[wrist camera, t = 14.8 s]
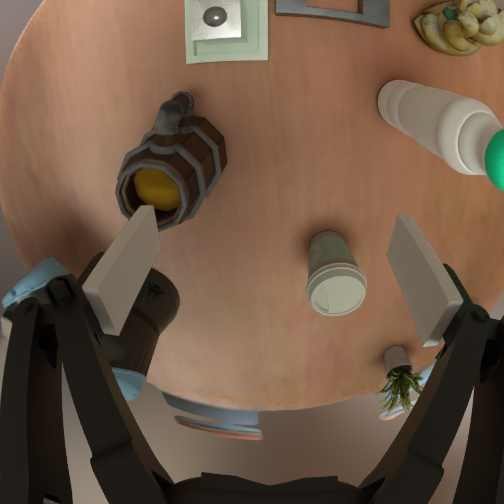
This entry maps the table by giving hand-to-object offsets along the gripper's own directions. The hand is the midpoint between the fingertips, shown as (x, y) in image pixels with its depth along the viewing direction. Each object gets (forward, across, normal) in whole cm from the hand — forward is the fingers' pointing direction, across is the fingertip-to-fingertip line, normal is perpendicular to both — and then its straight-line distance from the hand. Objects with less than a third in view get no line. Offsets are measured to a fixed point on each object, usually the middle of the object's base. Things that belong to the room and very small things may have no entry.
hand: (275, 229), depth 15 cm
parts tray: (+27, -6, +14) cm, 31 cm away
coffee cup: (+27, +9, -19) cm, 34 cm away
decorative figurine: (+27, +23, +18) cm, 40 cm away
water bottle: (+27, +17, +5) cm, 32 cm away
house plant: (+27, +30, -49) cm, 63 cm away
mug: (+27, -12, -2) cm, 30 cm away
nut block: (+26, -6, +14) cm, 30 cm away
